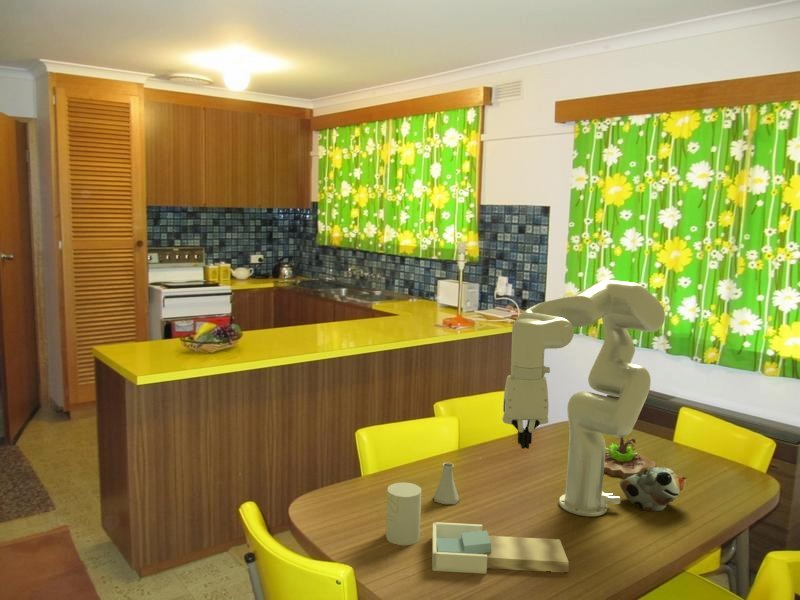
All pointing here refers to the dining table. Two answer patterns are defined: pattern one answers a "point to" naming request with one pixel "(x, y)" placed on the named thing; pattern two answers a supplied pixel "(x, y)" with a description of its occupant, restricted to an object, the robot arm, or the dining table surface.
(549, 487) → the dining table surface
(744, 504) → the dining table surface
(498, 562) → the board
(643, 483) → the grey toy figure
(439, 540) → the tile
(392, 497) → the grey cylinder
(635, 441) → the plant
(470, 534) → the tile
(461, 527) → the tray
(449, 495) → the flask
